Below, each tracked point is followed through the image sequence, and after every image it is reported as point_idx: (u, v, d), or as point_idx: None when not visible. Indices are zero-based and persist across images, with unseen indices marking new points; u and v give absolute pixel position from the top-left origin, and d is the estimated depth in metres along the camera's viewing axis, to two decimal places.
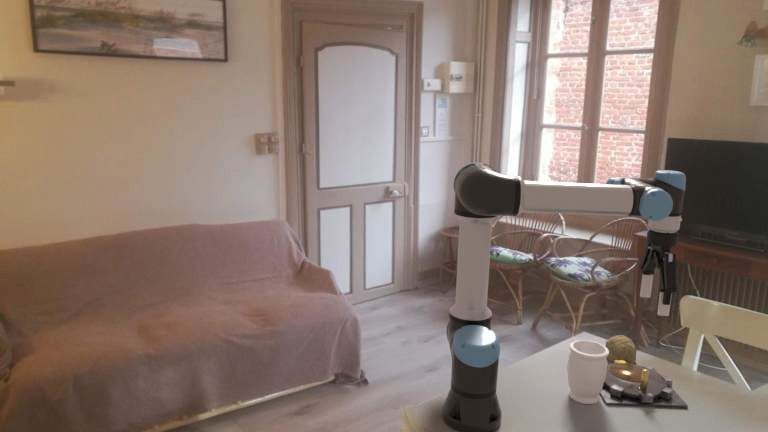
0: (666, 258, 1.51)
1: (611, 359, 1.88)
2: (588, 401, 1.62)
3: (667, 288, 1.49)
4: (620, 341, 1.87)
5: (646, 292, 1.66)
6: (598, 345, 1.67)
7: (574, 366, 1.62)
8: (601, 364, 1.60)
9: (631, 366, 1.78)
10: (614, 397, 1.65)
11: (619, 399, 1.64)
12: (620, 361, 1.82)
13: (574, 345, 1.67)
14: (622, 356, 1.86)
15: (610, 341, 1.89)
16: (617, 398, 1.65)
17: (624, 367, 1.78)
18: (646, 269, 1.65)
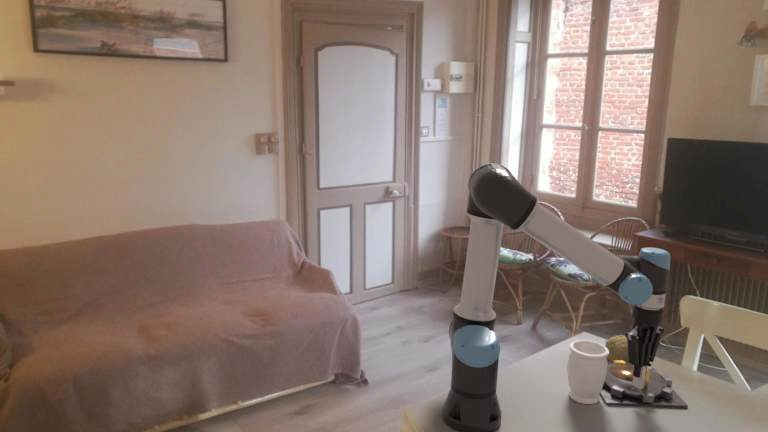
0: (627, 337, 1.58)
1: (611, 359, 1.88)
2: (588, 401, 1.62)
3: (629, 360, 1.61)
4: (620, 341, 1.87)
5: None
6: (598, 345, 1.67)
7: (574, 366, 1.62)
8: (601, 364, 1.60)
9: (631, 366, 1.78)
10: (614, 397, 1.65)
11: (619, 399, 1.64)
12: (619, 361, 1.82)
13: (574, 345, 1.67)
14: (622, 356, 1.86)
15: (610, 341, 1.89)
16: (617, 398, 1.65)
17: (624, 367, 1.78)
18: None
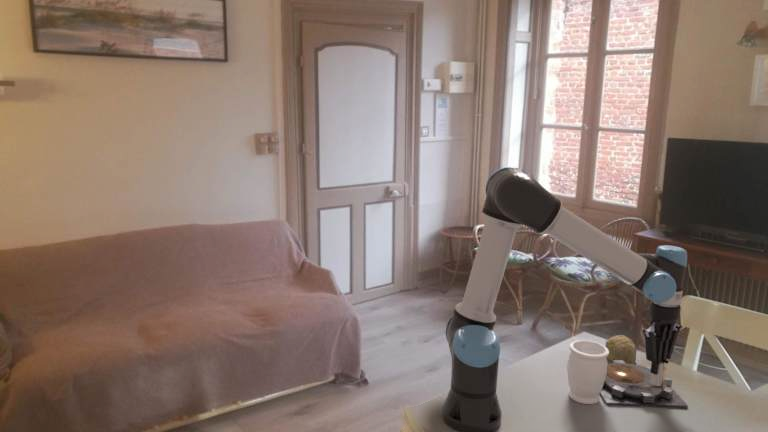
0: (644, 333, 1.60)
1: (611, 359, 1.88)
2: (588, 401, 1.62)
3: (647, 357, 1.63)
4: (620, 341, 1.87)
5: None
6: (598, 345, 1.67)
7: (574, 366, 1.62)
8: (601, 364, 1.60)
9: (614, 366, 1.78)
10: (614, 397, 1.65)
11: (619, 399, 1.64)
12: None
13: (574, 345, 1.67)
14: (622, 356, 1.86)
15: (610, 341, 1.89)
16: (617, 398, 1.65)
17: (614, 370, 1.76)
18: None
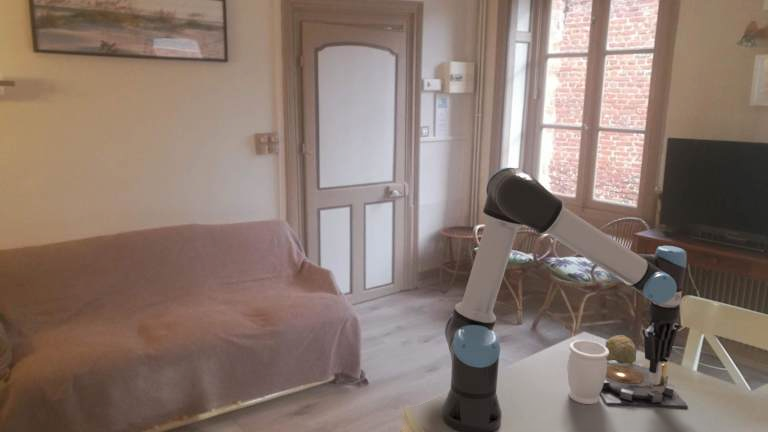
0: (643, 333, 1.61)
1: (611, 359, 1.88)
2: (588, 401, 1.62)
3: (645, 356, 1.64)
4: (620, 341, 1.87)
5: None
6: (598, 345, 1.67)
7: (574, 366, 1.62)
8: (601, 364, 1.60)
9: (612, 368, 1.77)
10: (614, 397, 1.65)
11: (619, 399, 1.64)
12: None
13: (574, 345, 1.67)
14: (622, 356, 1.86)
15: (610, 341, 1.89)
16: (617, 398, 1.65)
17: (613, 371, 1.75)
18: None
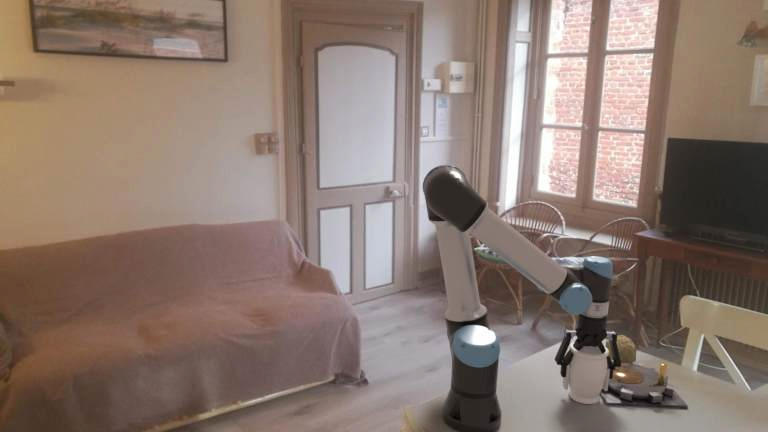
0: (564, 333, 1.64)
1: (611, 359, 1.88)
2: (588, 401, 1.62)
3: None
4: (620, 341, 1.87)
5: None
6: None
7: (574, 366, 1.62)
8: (601, 364, 1.60)
9: None
10: (614, 397, 1.65)
11: (619, 399, 1.64)
12: None
13: None
14: (622, 356, 1.86)
15: None
16: (617, 398, 1.65)
17: (613, 371, 1.75)
18: None
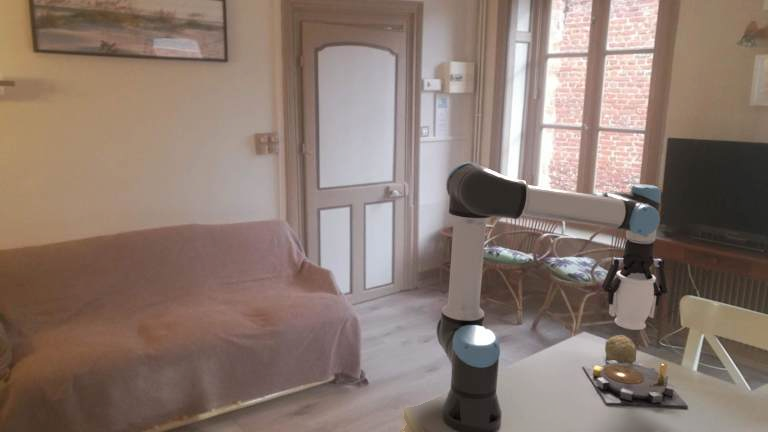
0: (612, 261, 1.67)
1: (611, 359, 1.88)
2: (635, 326, 1.66)
3: None
4: (620, 341, 1.87)
5: None
6: None
7: (621, 292, 1.66)
8: (649, 289, 1.63)
9: (612, 368, 1.77)
10: (614, 397, 1.65)
11: (619, 399, 1.64)
12: (597, 368, 1.77)
13: None
14: (622, 356, 1.86)
15: (610, 341, 1.89)
16: (617, 398, 1.65)
17: (613, 371, 1.75)
18: None
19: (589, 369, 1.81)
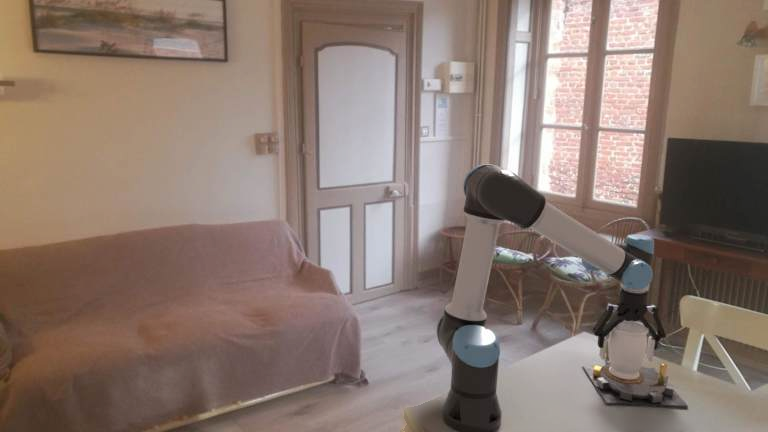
0: (606, 306, 1.70)
1: None
2: (629, 376, 1.70)
3: (593, 329, 1.72)
4: None
5: (648, 354, 1.72)
6: (637, 323, 1.74)
7: (615, 343, 1.69)
8: (642, 341, 1.67)
9: None
10: (614, 397, 1.65)
11: (619, 399, 1.64)
12: (597, 368, 1.77)
13: None
14: None
15: None
16: (617, 398, 1.65)
17: None
18: None
19: (589, 369, 1.81)
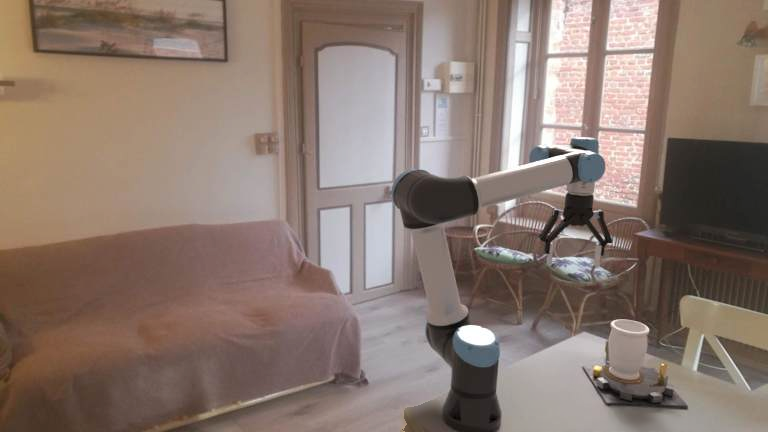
0: (552, 212, 1.69)
1: None
2: (629, 377, 1.70)
3: None
4: None
5: (595, 261, 1.70)
6: (638, 324, 1.74)
7: (615, 343, 1.69)
8: (642, 341, 1.67)
9: None
10: (614, 397, 1.65)
11: (619, 399, 1.64)
12: (597, 368, 1.77)
13: (614, 324, 1.74)
14: None
15: None
16: (617, 398, 1.65)
17: None
18: (595, 237, 1.70)
19: (589, 369, 1.81)
